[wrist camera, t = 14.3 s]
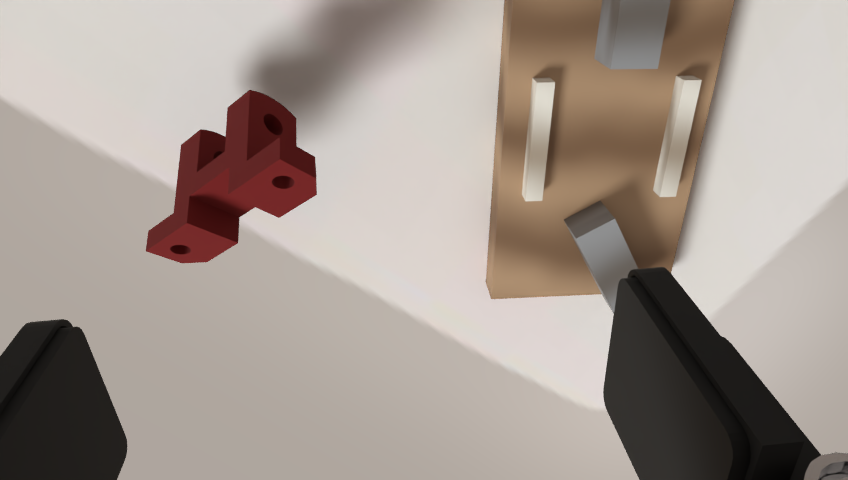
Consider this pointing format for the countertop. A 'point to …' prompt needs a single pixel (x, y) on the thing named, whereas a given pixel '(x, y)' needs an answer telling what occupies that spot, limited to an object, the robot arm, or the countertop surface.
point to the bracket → (234, 180)
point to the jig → (597, 139)
